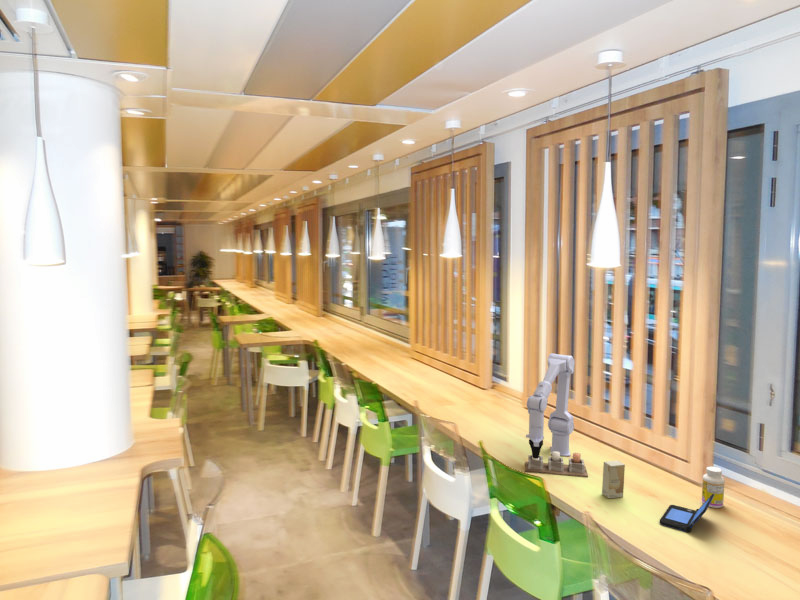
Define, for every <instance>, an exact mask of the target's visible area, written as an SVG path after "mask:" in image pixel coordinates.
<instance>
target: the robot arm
mask: <svg viewBox="0 0 800 600" xmlns="http://www.w3.org/2000/svg"><path fill="white" fill-rule="evenodd" d="M574 372H575V359H574V357H573V356H572V355H566V354H559V353H558V354H557V353H553V352H552V353H550V354H549V355H548V357H547V369H546V373H545V374H544V378H543V380H542V381H539V382H538V384H537V386H536V388H535V391H534V392H533V394H532V395H530V396H529V397H528V398H527V400H526V401H527V402H526V408H527V414H528V417H529V418H528V420H529V421H528V434H525V438H527V439H528V444H529V446H530V449H531V455H532V456H533V458H539V456H540V452H541V449H542V447H543V445H544V439H545V438H544V437H545V436H544V428H545V427H544V426H545V425H544V424H545V423H544V420H545V418H544V417H545V413H544V412H545V411H546V409H547V407H548V398H549V396H550V395H551V392H552V390H553V387H552V384H553V383H554V381H555V379H556V378H557V388H556V401H555V410H553V411H552V412H551V413H549V418H548V420H547V427H548V430H549V431H550V433H551V446H550V447H549V449H550V454H551V456H552V452H553V451H558V452H560V457H561V456H562V457H571V452H570V435H571V434H572V433H573V432H574V429H575V423H574V416H573V415H572V414H571V413H570V412H569V411H568V410H569V409H568V408H569V394H570V382H571V375H573V374H574Z"/></svg>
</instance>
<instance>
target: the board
mask: <svg viewBox="0 0 800 600" xmlns="http://www.w3.org/2000/svg"><path fill="white" fill-rule="evenodd" d="M532 457H533V456H532V454H531V455H530V454H529V455H528V461H527V460H526V461H524V463H525V471H524V472H525V473H534V474H542V475H543V474H545V475H546V474H547V475H557V476H567V477H568V476H569V477H582V478H589V474H588V471H587V466H586V465H585V461H584V459H583V458H581V459H580V463H573V457H571V458H568V464H564V457H560V461H559V462H555V461H552V456H548V462H544V458H543V455H539V460H532Z"/></svg>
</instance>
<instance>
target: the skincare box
mask: <svg viewBox="0 0 800 600" xmlns="http://www.w3.org/2000/svg"><path fill="white" fill-rule="evenodd" d="M625 465H626V464H624V463H623V462H621V461H619V460H610V461H603V467H602V469H603V470H602V486H601V494H602V495H603V496H605V498H608V499H615V498H616V499H617V498H623V497H624V489H625V485H624V484H625V470H626V469H625V467H626V466H625Z"/></svg>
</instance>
